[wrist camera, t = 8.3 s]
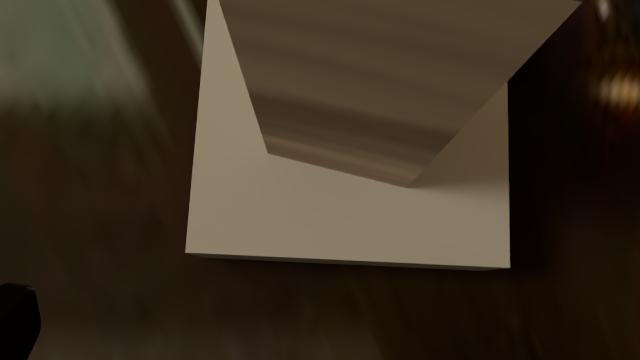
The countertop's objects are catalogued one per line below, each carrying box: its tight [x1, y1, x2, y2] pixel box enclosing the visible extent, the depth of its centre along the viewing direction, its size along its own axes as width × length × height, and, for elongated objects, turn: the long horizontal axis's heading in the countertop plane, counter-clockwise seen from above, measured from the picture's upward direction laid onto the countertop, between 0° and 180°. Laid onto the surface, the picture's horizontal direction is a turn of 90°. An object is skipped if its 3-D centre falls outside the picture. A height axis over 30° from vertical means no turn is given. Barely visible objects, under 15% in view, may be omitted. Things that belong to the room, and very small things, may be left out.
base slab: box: [185, 0, 510, 271], centre depth 20 cm, size 10×10×3 cm
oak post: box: [219, 0, 584, 188], centre depth 12 cm, size 4×4×13 cm
